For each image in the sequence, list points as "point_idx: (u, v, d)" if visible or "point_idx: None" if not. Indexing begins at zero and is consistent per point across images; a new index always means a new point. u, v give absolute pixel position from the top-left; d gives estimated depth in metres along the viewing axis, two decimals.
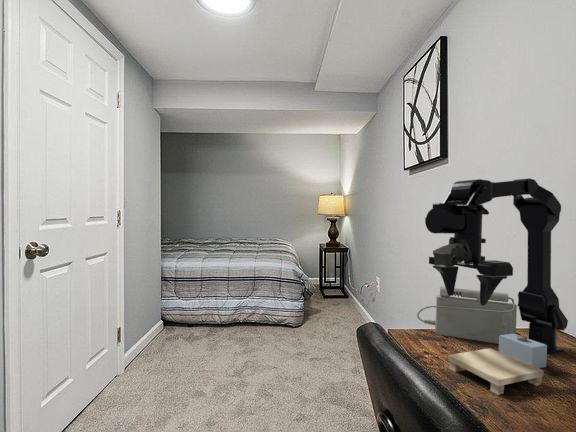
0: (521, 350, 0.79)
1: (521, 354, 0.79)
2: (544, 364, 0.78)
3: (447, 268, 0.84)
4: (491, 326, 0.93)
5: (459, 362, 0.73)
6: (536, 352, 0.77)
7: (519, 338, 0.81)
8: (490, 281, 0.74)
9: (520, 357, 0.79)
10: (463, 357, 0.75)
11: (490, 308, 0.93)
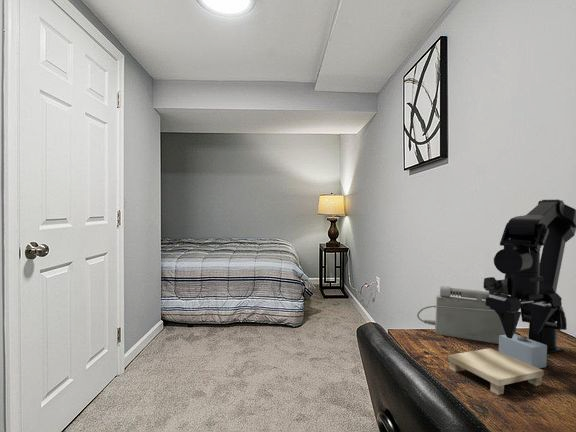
0: (521, 350, 0.79)
1: (521, 354, 0.79)
2: (544, 364, 0.78)
3: (534, 305, 0.84)
4: (491, 326, 0.93)
5: (459, 362, 0.73)
6: (536, 352, 0.77)
7: (519, 338, 0.81)
8: (508, 315, 0.79)
9: (520, 357, 0.79)
10: (463, 357, 0.75)
11: None
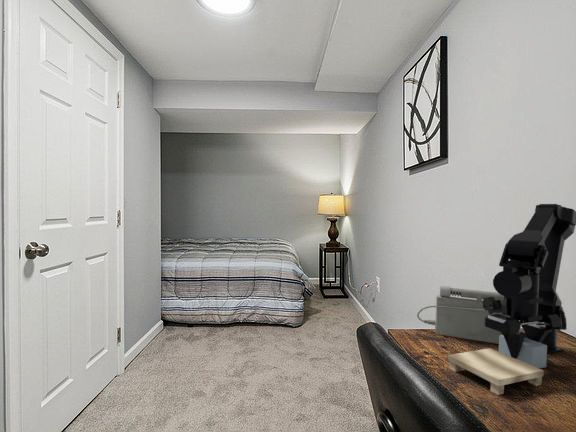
0: (521, 350, 0.79)
1: (521, 354, 0.79)
2: (544, 364, 0.78)
3: (528, 326, 0.83)
4: None
5: (459, 362, 0.73)
6: (536, 352, 0.77)
7: None
8: (513, 335, 0.79)
9: (520, 357, 0.79)
10: (463, 357, 0.75)
11: None
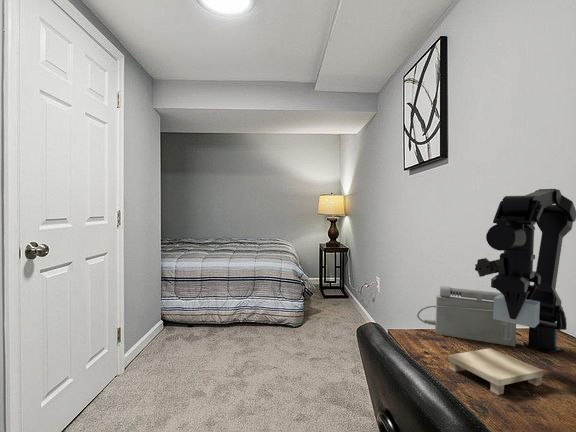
0: (521, 309, 0.76)
1: (521, 313, 0.76)
2: (538, 321, 0.77)
3: None
4: (491, 326, 0.93)
5: (459, 362, 0.73)
6: (536, 309, 0.75)
7: None
8: (515, 295, 0.76)
9: (520, 316, 0.76)
10: (463, 357, 0.75)
11: (490, 308, 0.93)
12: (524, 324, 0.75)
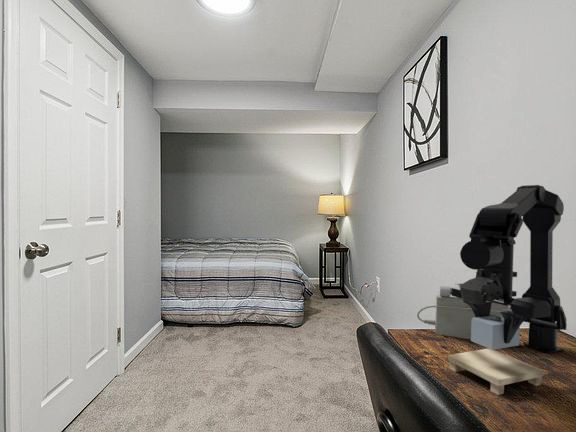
0: None
1: None
2: None
3: None
4: None
5: (459, 362, 0.73)
6: None
7: (499, 318, 0.72)
8: (515, 317, 0.69)
9: None
10: (463, 357, 0.75)
11: None
12: (513, 344, 0.71)
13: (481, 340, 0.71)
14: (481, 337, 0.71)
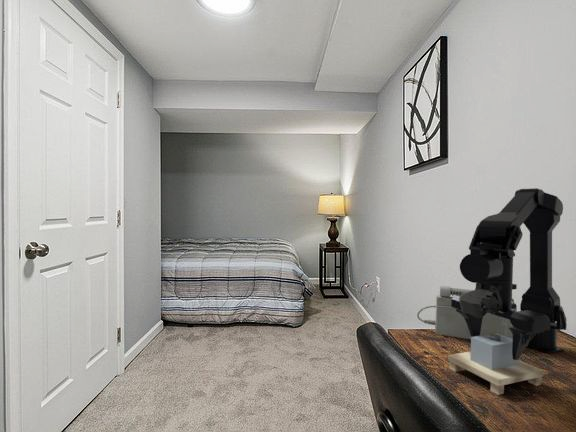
0: (511, 350, 0.71)
1: (511, 354, 0.71)
2: None
3: None
4: (491, 326, 0.93)
5: (459, 362, 0.73)
6: None
7: (499, 338, 0.72)
8: (524, 333, 0.68)
9: (510, 357, 0.71)
10: (463, 357, 0.75)
11: None
12: (512, 364, 0.71)
13: (480, 360, 0.71)
14: (481, 356, 0.71)
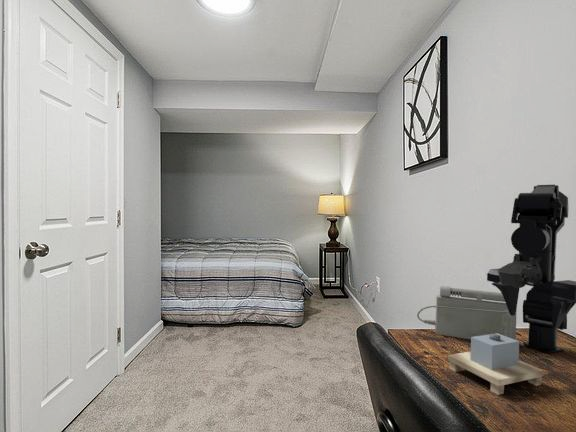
0: (511, 350, 0.71)
1: (511, 354, 0.71)
2: None
3: (509, 286, 0.79)
4: (491, 326, 0.93)
5: (459, 362, 0.73)
6: None
7: (499, 338, 0.72)
8: (564, 303, 0.69)
9: (510, 357, 0.71)
10: (463, 357, 0.75)
11: (490, 308, 0.93)
12: (512, 364, 0.71)
13: (480, 360, 0.71)
14: (481, 356, 0.71)
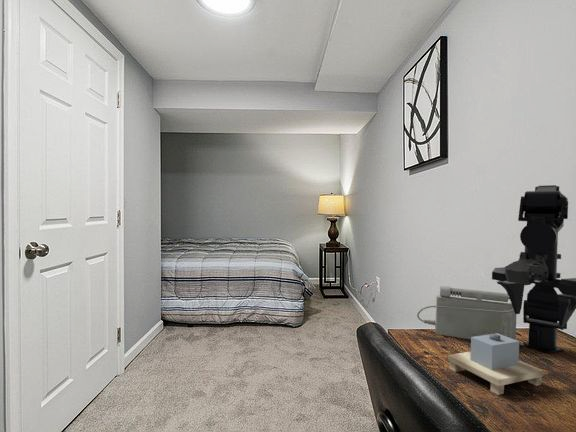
0: (511, 350, 0.71)
1: (511, 354, 0.71)
2: None
3: (514, 284, 0.79)
4: (491, 326, 0.93)
5: (459, 362, 0.73)
6: None
7: (499, 338, 0.72)
8: (570, 300, 0.69)
9: (510, 357, 0.71)
10: (463, 357, 0.75)
11: (490, 308, 0.93)
12: (512, 364, 0.71)
13: (480, 360, 0.71)
14: (481, 356, 0.71)
